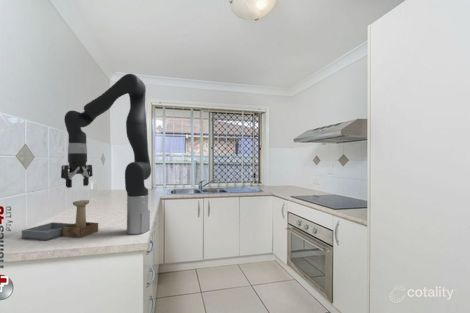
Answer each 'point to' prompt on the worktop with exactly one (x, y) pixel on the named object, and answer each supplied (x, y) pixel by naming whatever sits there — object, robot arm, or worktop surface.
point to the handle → (81, 213)
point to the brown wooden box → (79, 230)
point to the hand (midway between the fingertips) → (77, 186)
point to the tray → (44, 231)
